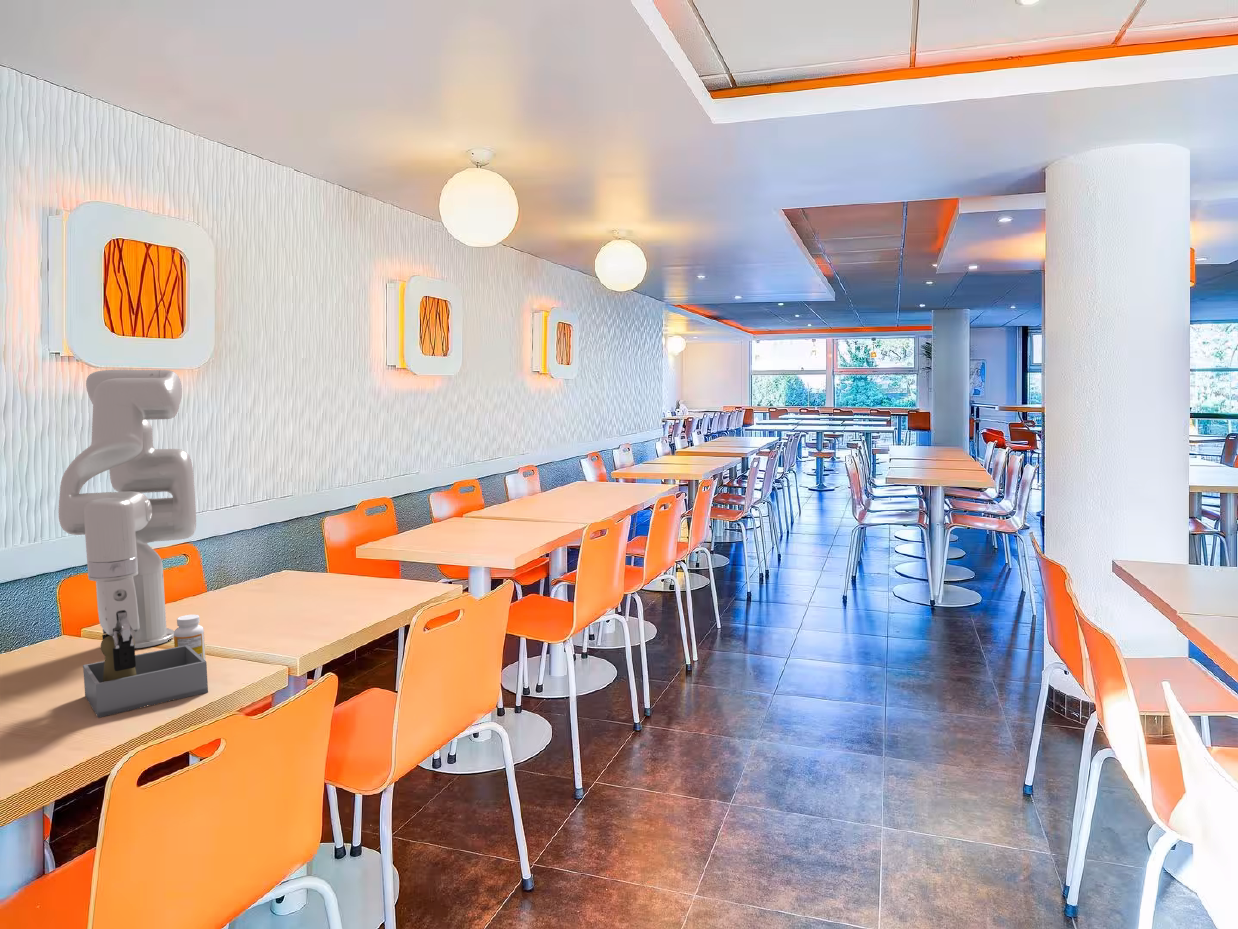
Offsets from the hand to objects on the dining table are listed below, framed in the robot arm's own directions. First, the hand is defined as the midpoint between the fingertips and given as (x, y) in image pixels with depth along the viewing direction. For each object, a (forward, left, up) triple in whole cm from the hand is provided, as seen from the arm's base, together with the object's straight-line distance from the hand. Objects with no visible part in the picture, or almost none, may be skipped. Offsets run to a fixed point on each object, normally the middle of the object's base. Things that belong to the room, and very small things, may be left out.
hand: (119, 661), depth 145 cm
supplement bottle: (-12, +14, -7) cm, 20 cm away
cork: (0, 0, -6) cm, 6 cm away
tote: (+1, +4, -7) cm, 8 cm away
